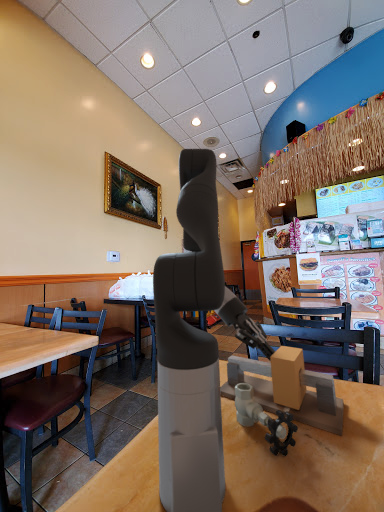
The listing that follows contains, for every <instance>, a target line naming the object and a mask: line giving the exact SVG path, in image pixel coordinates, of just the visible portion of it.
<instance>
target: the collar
mask: <svg viewBox="0 0 384 512" xmlns="http://www.w3.org/2000/svg"><path fill="white" fill-rule="evenodd" d="M303 350H304V349H303V348H299V347H292V346H285V345H281V346H279V348H278V349H276V350H275V353H274V354H273V355H272V356H271V357H270V360H271V361H270V363H271V372H272V378H271V381H272V385H273V397H274V403H277V404H280V405H284V406H287V407H290V408H293V409H297V410H299V408H300V406H301V403H302V401H303V398H304V396H305V393H306V390H308V389H307V386H305V385H301V384H300V380H299V370H300V369H303V370H306V368H305V359H304V351H303Z"/></svg>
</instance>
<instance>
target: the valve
mask: <svg viewBox="0 0 384 512" xmlns="http://www.w3.org/2000/svg"><path fill="white" fill-rule="evenodd" d="M235 395H236V398H235V400H234V407H235V410H236V422H238V423H239V424H240V425H241V426H243V427H253V426H254V424H255V423H258V422H259V423H260V424H261V425H262V426H264V427H266V428H268V431H269V432H270V433H268V432H266V433H265V435H264V440H265V441H266V442H267V443H268V444H269V451H270V453H271V454H272V455H274V457H277V456H278V455H279V454H281V455H282V456H283V457H287V456H288V454H289V450H288V447H289V446H291V447H292V448H294V447H295V446H296V443H297V441H296V439H295V438H293V435H294V433H297V432H298V430H299V427H298V425H297V424H295V423H294V422H293V415H292V414H291V413H289V412H288V411H286V412H285V414H286V415H287V416H286V417H285V414H284V413H283V412H282V411H280V410H277V411H276V414H275V415H276V416H277V418H276V419H275V418H272V417H271V416H270V415H269V414H267V413H265V412H264V410H263V408H262V406H261V405H259V404H258V403H256V402H255V400H254V398H253V396H254V389H253V387H252V386H251V385H250V384H247V383H239V384H237V385H236V386H235ZM283 423H284V424H286V426H287V428H285V427H284V426H283V425H282V424H283ZM280 439H281V440H283V441H281V440H280ZM272 444H273V446H271V445H272Z"/></svg>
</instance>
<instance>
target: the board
mask: <svg viewBox="0 0 384 512" xmlns="http://www.w3.org/2000/svg"><path fill="white" fill-rule="evenodd" d="M243 383H247V384H250V385H251V386H252V387H253V389H254V396H253V398H254V400H255V402H256V403H258V404H259V405H261V406H262V408H263V411H267V412H270V413H272V414H275V415H276V411H277V410H280V411H282V412H283V413H284V414H285V412H286V411H288V412H289V413H291V414H292V415H293V420H294V421H297V422H299V423H303V424H306V425H307V426H311V427H315V428H317V429H320V430H324V431H326V432H329V433H332V434H334V435H338V436H343V428H344V426H343V424H344V423H343V422H344V406H345V405H344V402H345V401H344V398H340V397H337V396H336V403H337V410H336V416H333V415H330V414H327V413H323V412H320V411H318V402H317V393H316V391H312V390H308V389H307V390H306V393H305V396H304V398H303V401H302V403H301V406H300V408H299V410H297V409H293V408H290V407H287V406H284V405H280V404H277V403H274V397H273V385H272V380H269V379H264V378H260V377H256V376H252V375H248V374H245V373H244V382H243ZM220 392H221V397H225V398H229V399H231V400H234V401H235V398H236V395H235V386H232V385H228V380H227V381H225V383H223V384H222V385H220ZM286 416H287V415H286V414H285V418H286Z"/></svg>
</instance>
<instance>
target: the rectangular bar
mask: <svg viewBox="0 0 384 512" xmlns="http://www.w3.org/2000/svg"><path fill="white" fill-rule="evenodd" d="M226 371H227V374H226V375H227V381H228V385H232V386H236V385H237V384H239V383H243V382H244V374H245V373H246V372H247V373H251V374H255V375H259V376H262V377H267V378H271V379H272V372H271V362H268V361H267V362H266V361H262V360H256V359H252V358H247V357H241V356H236V355H230V356H229V357H227V363H226ZM299 380H300V384H301V385H305V386H306V387H310V388H312V389H313V388H314V389H315V392H316V393H317V402H318V411H320V412H323V413H327V414H330V415H333V416H336V410H337V403H336V397H337V396H336V395H337V394H336V388H335V387H336V385H335V379H334V375H332V374H327V373H322V372H316V371H312V370H307V369H305V370H303V369H300V370H299Z"/></svg>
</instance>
